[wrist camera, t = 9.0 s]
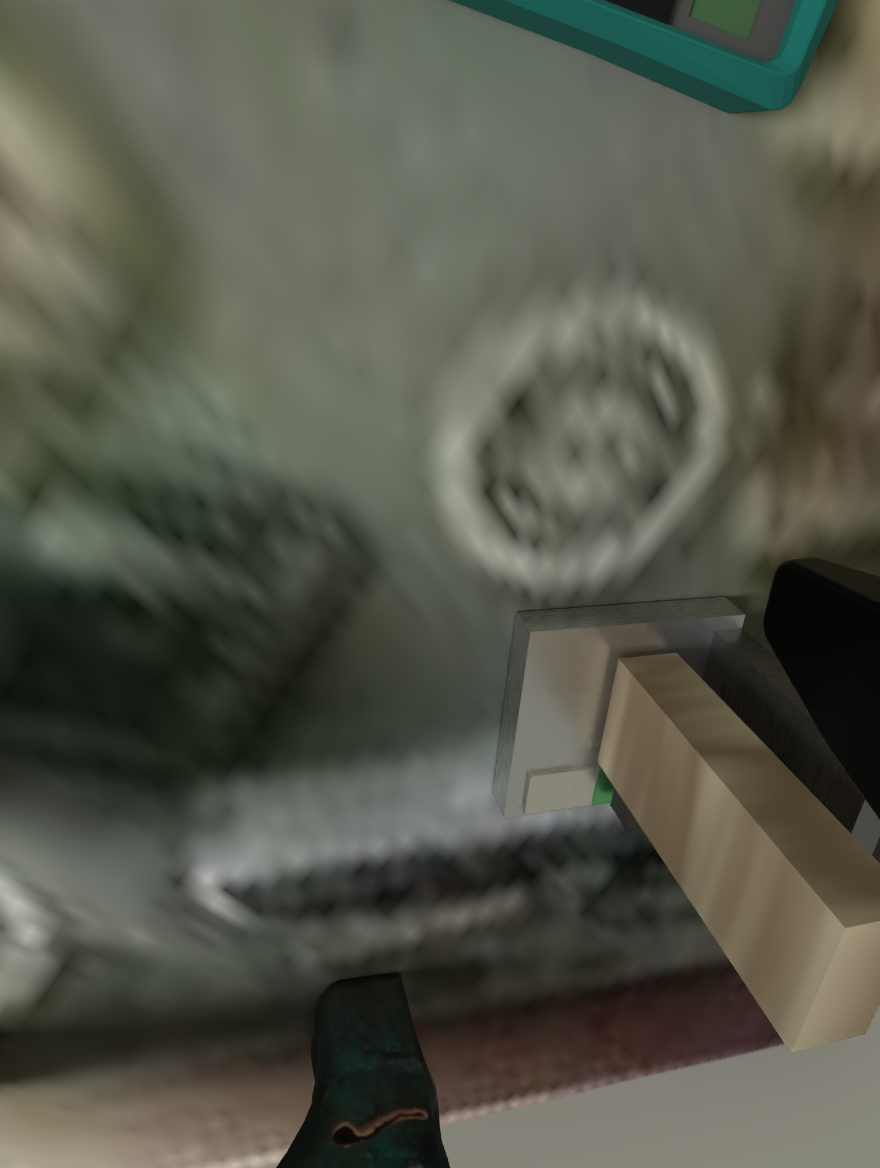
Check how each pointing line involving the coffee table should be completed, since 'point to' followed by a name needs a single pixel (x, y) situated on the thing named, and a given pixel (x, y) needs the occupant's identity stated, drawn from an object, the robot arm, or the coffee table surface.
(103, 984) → the coffee table surface
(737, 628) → the gauge base
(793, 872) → the light brown wooden block
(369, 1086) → the green animal figurine
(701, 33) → the digital multimeter
